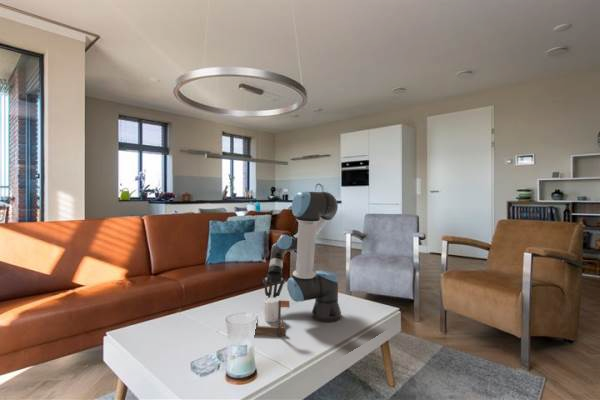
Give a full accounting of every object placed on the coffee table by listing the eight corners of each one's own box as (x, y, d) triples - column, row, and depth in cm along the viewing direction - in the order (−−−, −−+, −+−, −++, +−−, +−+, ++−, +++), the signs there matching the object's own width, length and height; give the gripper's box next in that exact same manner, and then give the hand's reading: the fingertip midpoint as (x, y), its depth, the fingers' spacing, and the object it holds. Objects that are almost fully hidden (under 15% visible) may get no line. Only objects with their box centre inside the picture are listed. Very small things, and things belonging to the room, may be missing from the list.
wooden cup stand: (250, 324, 155) (250, 291, 155) (291, 326, 154) (291, 293, 154) (244, 335, 144) (244, 299, 143) (289, 337, 142) (289, 301, 142)
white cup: (281, 317, 165) (281, 298, 165) (276, 323, 157) (276, 303, 157) (266, 316, 166) (266, 296, 166) (261, 322, 159) (261, 301, 159)
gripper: (287, 272, 185) (283, 311, 169) (265, 271, 186) (259, 310, 170) (286, 264, 179) (282, 305, 163) (263, 264, 180) (256, 304, 164)
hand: (270, 307), depth 166 cm, fingers closed
